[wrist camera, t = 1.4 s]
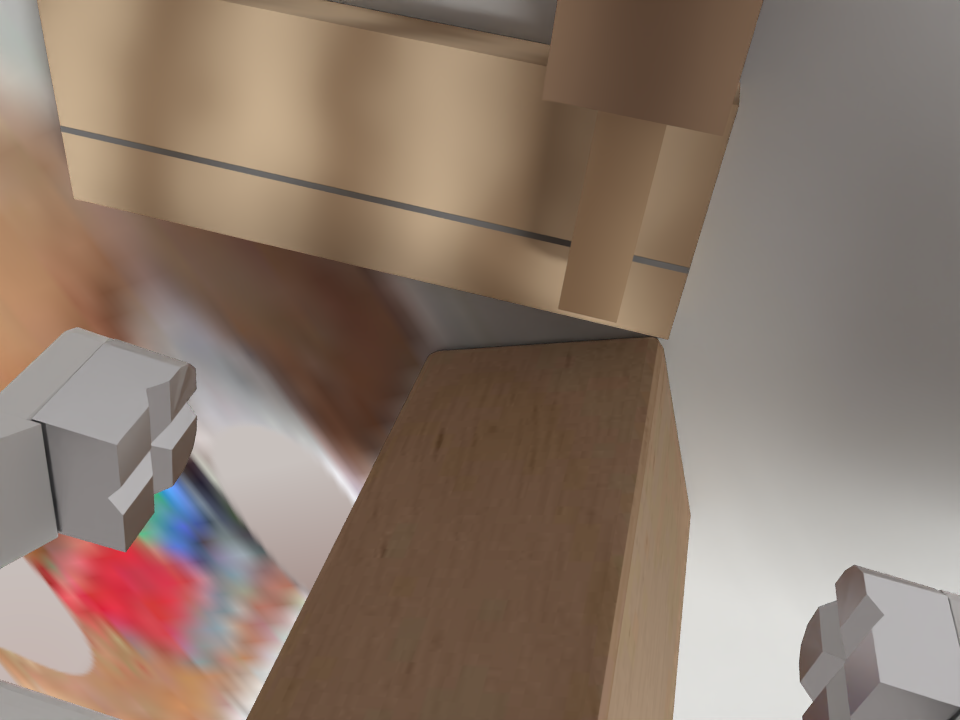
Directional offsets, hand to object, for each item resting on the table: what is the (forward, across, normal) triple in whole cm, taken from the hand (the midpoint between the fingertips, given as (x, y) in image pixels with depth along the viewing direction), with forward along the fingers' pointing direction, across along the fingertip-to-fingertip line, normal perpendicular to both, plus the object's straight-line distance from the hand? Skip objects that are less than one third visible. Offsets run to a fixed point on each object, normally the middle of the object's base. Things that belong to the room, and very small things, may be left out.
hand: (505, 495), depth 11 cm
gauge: (+22, -1, +3) cm, 22 cm away
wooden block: (+22, -2, +18) cm, 29 cm away
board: (+22, +8, +7) cm, 25 cm away
